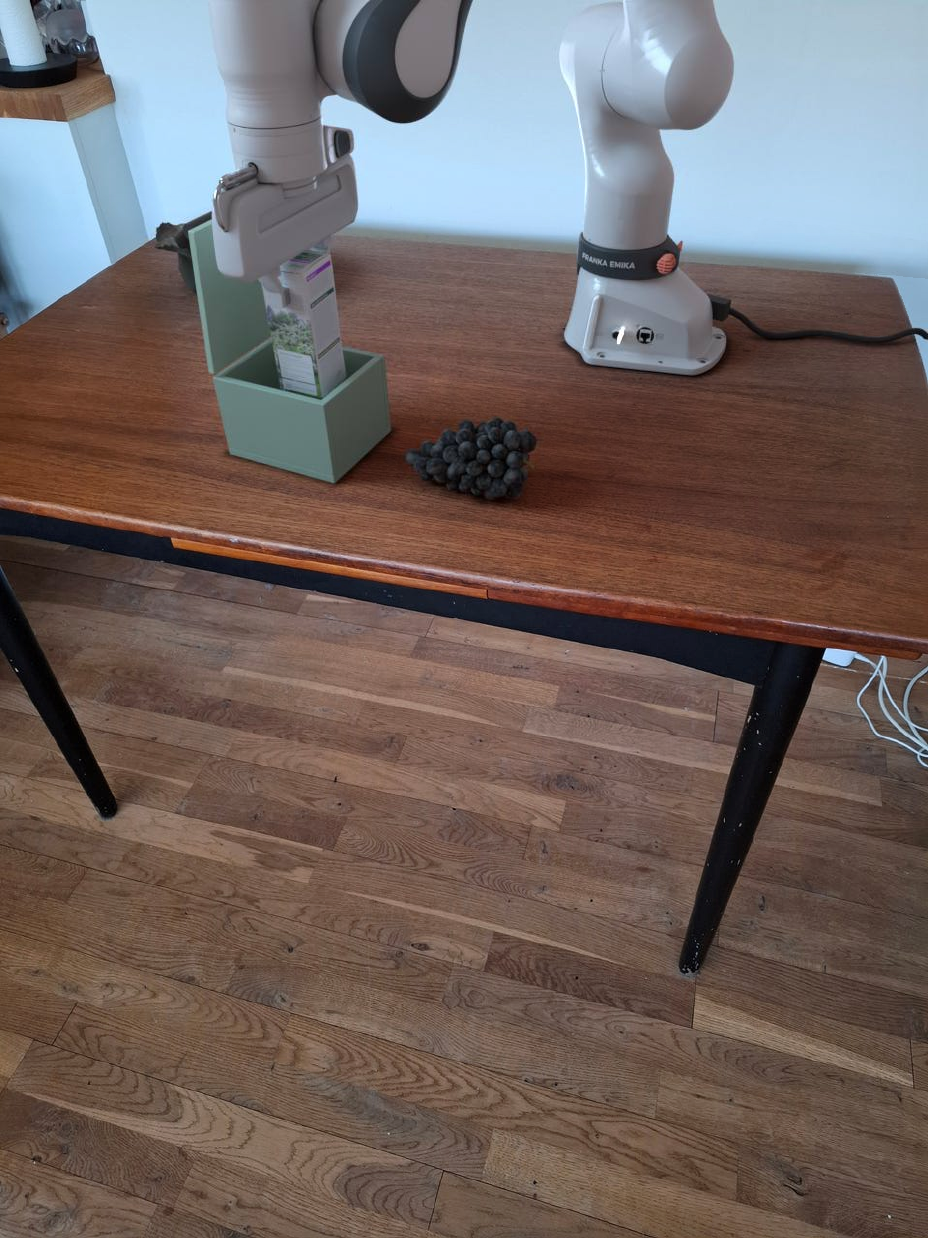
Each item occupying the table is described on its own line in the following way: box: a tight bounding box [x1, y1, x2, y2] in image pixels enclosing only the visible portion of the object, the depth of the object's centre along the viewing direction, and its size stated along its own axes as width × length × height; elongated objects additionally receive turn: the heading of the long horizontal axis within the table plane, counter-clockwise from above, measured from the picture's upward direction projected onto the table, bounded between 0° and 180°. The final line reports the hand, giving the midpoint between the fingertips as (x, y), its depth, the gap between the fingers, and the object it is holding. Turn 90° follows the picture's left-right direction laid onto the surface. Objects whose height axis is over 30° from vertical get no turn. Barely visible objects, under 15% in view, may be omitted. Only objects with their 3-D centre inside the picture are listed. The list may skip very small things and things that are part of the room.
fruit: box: [405, 416, 538, 501], centre depth 97 cm, size 9×8×15 cm
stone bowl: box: [153, 221, 197, 294], centre depth 142 cm, size 25×25×9 cm
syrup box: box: [262, 249, 346, 399], centre depth 96 cm, size 6×6×14 cm
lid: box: [182, 210, 271, 375], centre depth 98 cm, size 16×13×5 cm
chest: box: [212, 337, 392, 484], centre depth 104 cm, size 15×13×10 cm
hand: (300, 293), depth 94 cm, fingers closed on syrup box, 5 cm apart
